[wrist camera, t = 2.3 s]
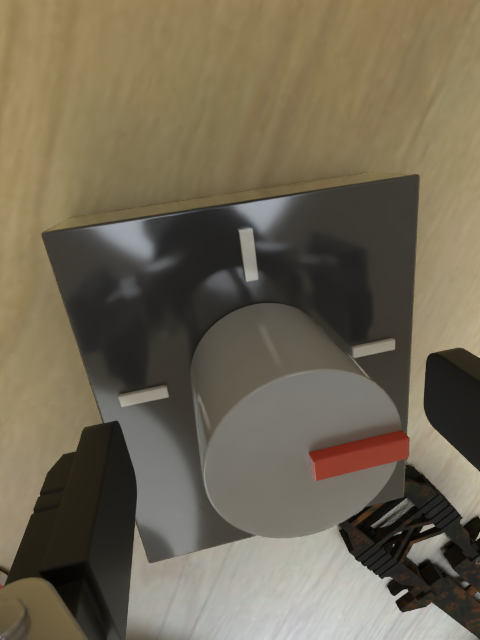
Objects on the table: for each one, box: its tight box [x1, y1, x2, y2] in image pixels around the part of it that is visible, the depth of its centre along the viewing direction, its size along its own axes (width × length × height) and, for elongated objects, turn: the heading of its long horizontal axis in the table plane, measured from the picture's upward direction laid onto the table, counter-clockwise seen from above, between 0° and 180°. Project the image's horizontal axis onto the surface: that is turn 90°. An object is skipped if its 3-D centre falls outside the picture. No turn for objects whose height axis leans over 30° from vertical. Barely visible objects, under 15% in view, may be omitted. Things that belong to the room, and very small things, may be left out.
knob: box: [190, 303, 410, 538], centre depth 10 cm, size 4×4×4 cm
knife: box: [338, 466, 480, 639], centre depth 22 cm, size 25×6×1 cm, turn 37°
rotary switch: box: [41, 173, 420, 563], centre depth 14 cm, size 12×10×3 cm
